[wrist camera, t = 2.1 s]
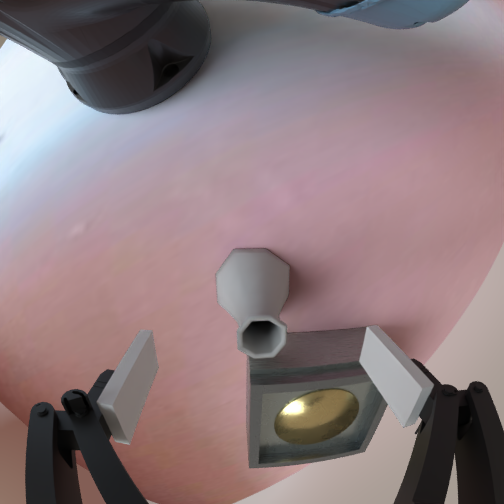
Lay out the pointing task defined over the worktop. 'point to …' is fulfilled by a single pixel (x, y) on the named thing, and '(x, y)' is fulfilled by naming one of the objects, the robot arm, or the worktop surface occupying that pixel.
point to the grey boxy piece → (311, 400)
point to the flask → (255, 299)
